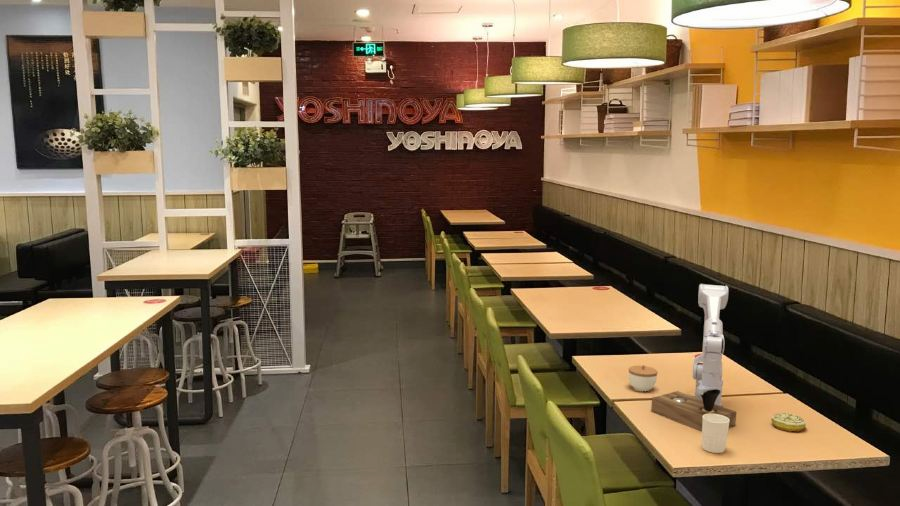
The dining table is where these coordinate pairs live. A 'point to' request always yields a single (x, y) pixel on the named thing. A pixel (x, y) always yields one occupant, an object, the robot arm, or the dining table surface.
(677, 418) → the walnut block
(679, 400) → the silver ball
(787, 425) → the yellow green round disc
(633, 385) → the lidded jar
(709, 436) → the white cup
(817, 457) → the dining table surface
